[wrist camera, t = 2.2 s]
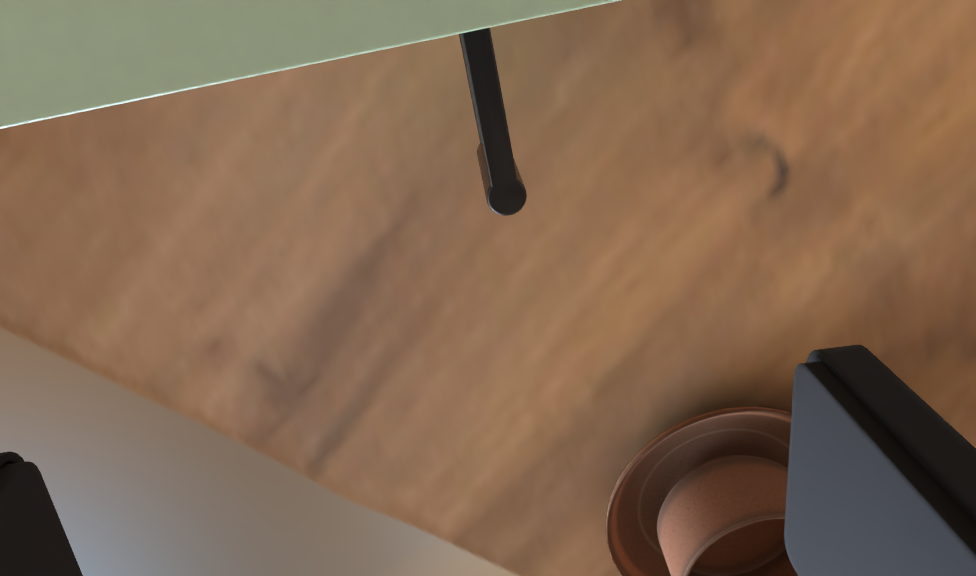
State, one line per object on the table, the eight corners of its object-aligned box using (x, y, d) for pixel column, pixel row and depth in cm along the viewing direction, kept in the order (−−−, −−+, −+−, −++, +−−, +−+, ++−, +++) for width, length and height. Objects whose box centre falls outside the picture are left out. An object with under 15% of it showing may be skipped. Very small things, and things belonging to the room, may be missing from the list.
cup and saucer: (866, 526, 40) (936, 620, 35) (654, 617, 42) (688, 721, 36) (793, 346, 36) (860, 422, 30) (558, 456, 37) (580, 547, 32)
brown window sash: (532, -64, 27) (573, -67, 19) (564, 146, 30) (611, 217, 22) (273, -10, 27) (210, 9, 19) (331, 193, 30) (296, 280, 22)
